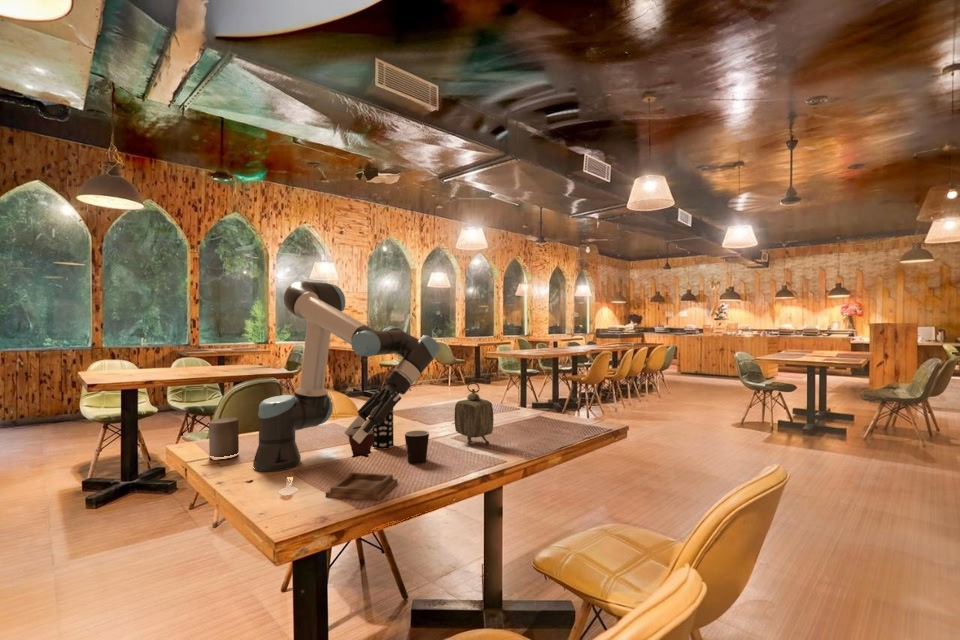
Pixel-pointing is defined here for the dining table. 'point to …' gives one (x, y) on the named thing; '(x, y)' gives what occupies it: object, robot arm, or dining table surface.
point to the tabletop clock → (474, 416)
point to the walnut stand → (362, 486)
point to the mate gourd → (365, 445)
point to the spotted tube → (384, 433)
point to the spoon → (288, 489)
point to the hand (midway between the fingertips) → (351, 437)
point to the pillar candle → (223, 437)
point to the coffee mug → (416, 446)
